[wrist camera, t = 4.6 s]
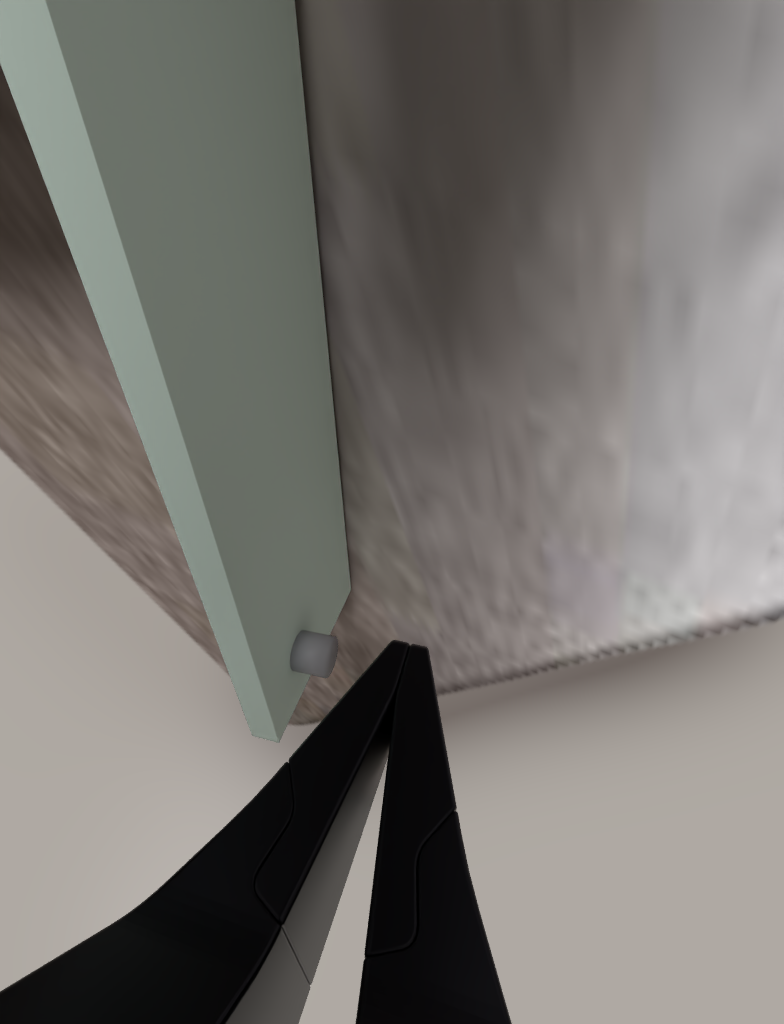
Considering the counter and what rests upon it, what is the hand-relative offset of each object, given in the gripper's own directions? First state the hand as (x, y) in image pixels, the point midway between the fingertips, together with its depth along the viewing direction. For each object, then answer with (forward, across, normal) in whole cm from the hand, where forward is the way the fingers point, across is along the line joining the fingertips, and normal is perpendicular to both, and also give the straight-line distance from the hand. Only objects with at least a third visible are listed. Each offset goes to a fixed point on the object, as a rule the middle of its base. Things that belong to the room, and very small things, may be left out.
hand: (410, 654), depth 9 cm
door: (+8, +5, -4) cm, 10 cm away
